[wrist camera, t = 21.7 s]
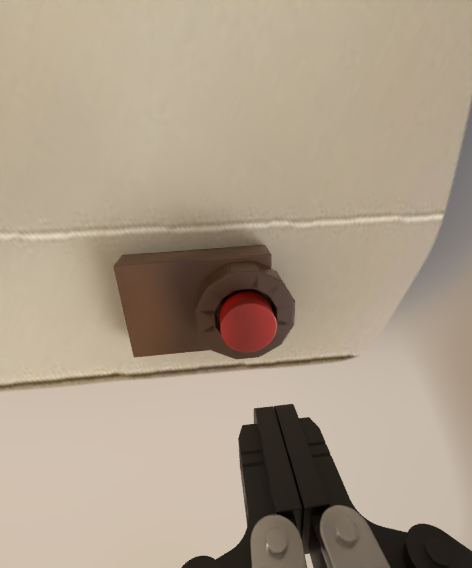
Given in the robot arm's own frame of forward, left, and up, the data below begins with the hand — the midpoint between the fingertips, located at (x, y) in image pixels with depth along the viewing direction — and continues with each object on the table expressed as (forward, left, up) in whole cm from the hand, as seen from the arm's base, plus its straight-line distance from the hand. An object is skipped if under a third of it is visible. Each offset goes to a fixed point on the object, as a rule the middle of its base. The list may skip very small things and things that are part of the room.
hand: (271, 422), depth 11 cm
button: (0, 0, -8) cm, 8 cm away
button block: (+3, +1, -12) cm, 12 cm away
